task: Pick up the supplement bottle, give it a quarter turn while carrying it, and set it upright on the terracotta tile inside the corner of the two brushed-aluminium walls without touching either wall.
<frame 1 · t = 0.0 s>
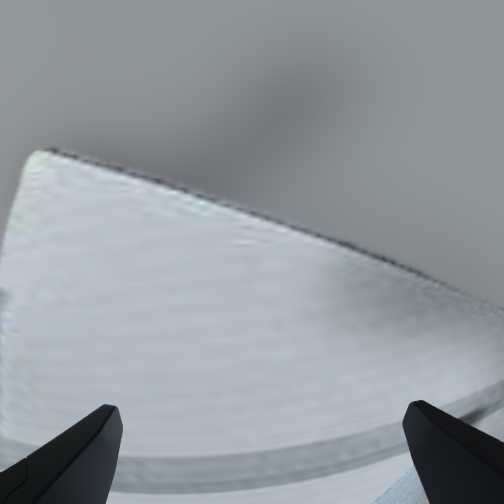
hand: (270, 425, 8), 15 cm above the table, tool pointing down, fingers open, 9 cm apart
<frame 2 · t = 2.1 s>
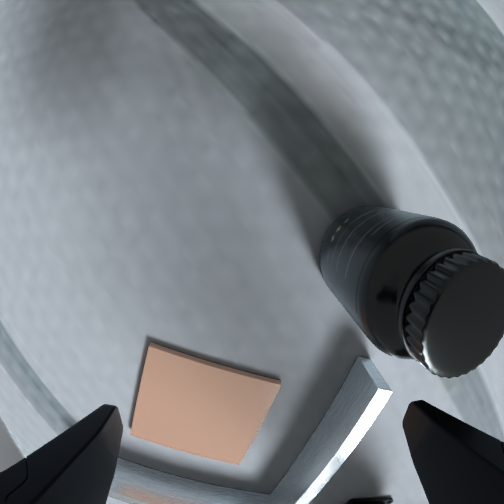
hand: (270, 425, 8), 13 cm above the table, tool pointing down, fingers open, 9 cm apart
supplement bottle: (363, 253, 21), on the table
terracotta tile: (199, 410, 24), on the table
corner walls: (207, 422, 24), resting in terracotta tile
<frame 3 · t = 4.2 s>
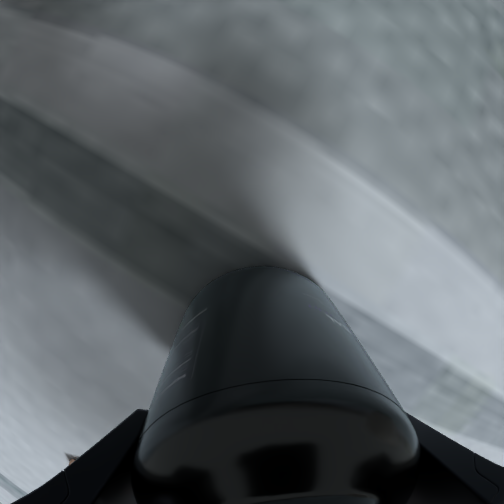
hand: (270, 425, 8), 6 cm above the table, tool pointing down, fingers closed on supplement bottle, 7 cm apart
supplement bottle: (258, 333, 14), on the table, touching gripper
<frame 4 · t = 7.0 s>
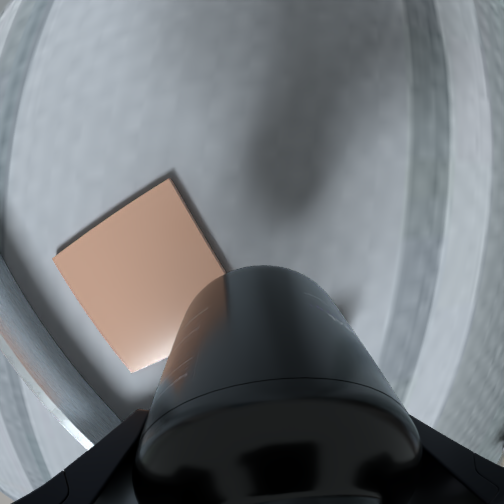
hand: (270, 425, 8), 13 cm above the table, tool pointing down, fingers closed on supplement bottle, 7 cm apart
supplement bottle: (259, 333, 14), point 7 cm above the table, touching gripper
terracotta tile: (146, 285, 20), on the table
corner walls: (143, 304, 21), resting in terracotta tile
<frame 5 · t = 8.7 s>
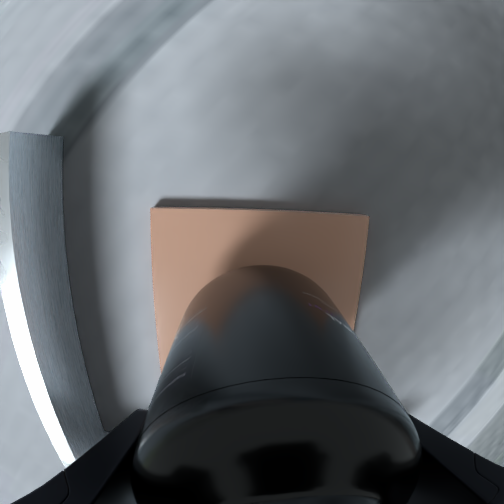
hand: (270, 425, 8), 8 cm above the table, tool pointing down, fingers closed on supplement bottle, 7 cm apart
supplement bottle: (258, 333, 14), point 2 cm above the table, touching gripper
terracotta tile: (257, 310, 16), on the table
corner walls: (236, 327, 16), resting in terracotta tile
when the fingers open (7 cm above the table, at t = 9.9 s): supplement bottle stays where it is, resting on terracotta tile.
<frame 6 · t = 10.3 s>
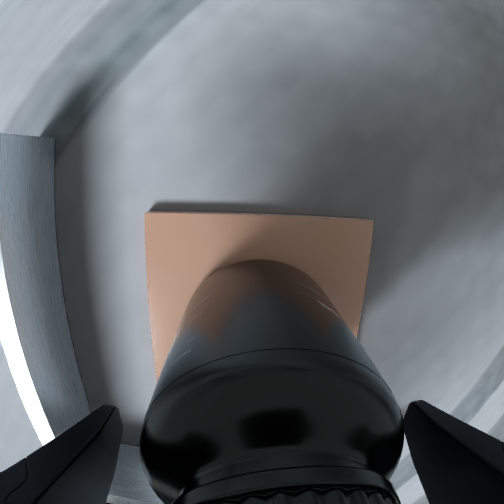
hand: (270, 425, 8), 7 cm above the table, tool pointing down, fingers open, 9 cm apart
supplement bottle: (256, 323, 15), resting on terracotta tile
terracotta tile: (256, 318, 15), on the table
corner walls: (235, 336, 16), resting in terracotta tile
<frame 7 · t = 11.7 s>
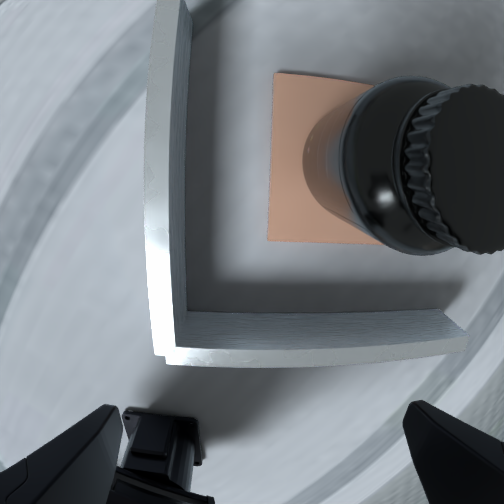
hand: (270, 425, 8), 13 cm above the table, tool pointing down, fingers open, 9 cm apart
supplement bottle: (353, 162, 18), resting on terracotta tile
terracotta tile: (351, 161, 19), on the table
corner walls: (335, 176, 19), resting in terracotta tile
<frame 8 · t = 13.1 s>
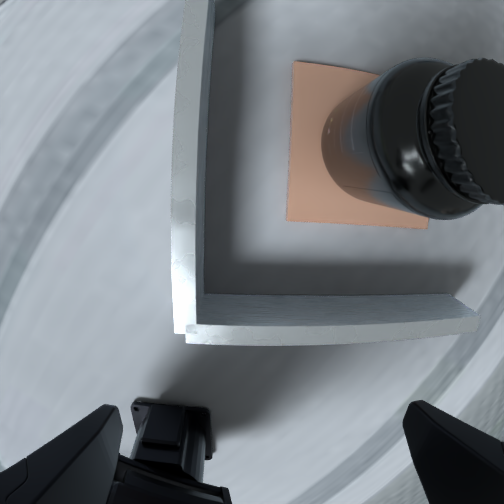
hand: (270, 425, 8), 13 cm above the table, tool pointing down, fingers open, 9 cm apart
supplement bottle: (368, 147, 19), resting on terracotta tile
terracotta tile: (365, 147, 19), on the table
corner walls: (350, 160, 19), resting in terracotta tile
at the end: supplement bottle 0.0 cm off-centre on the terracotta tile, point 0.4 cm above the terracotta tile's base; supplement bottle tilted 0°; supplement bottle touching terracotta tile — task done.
